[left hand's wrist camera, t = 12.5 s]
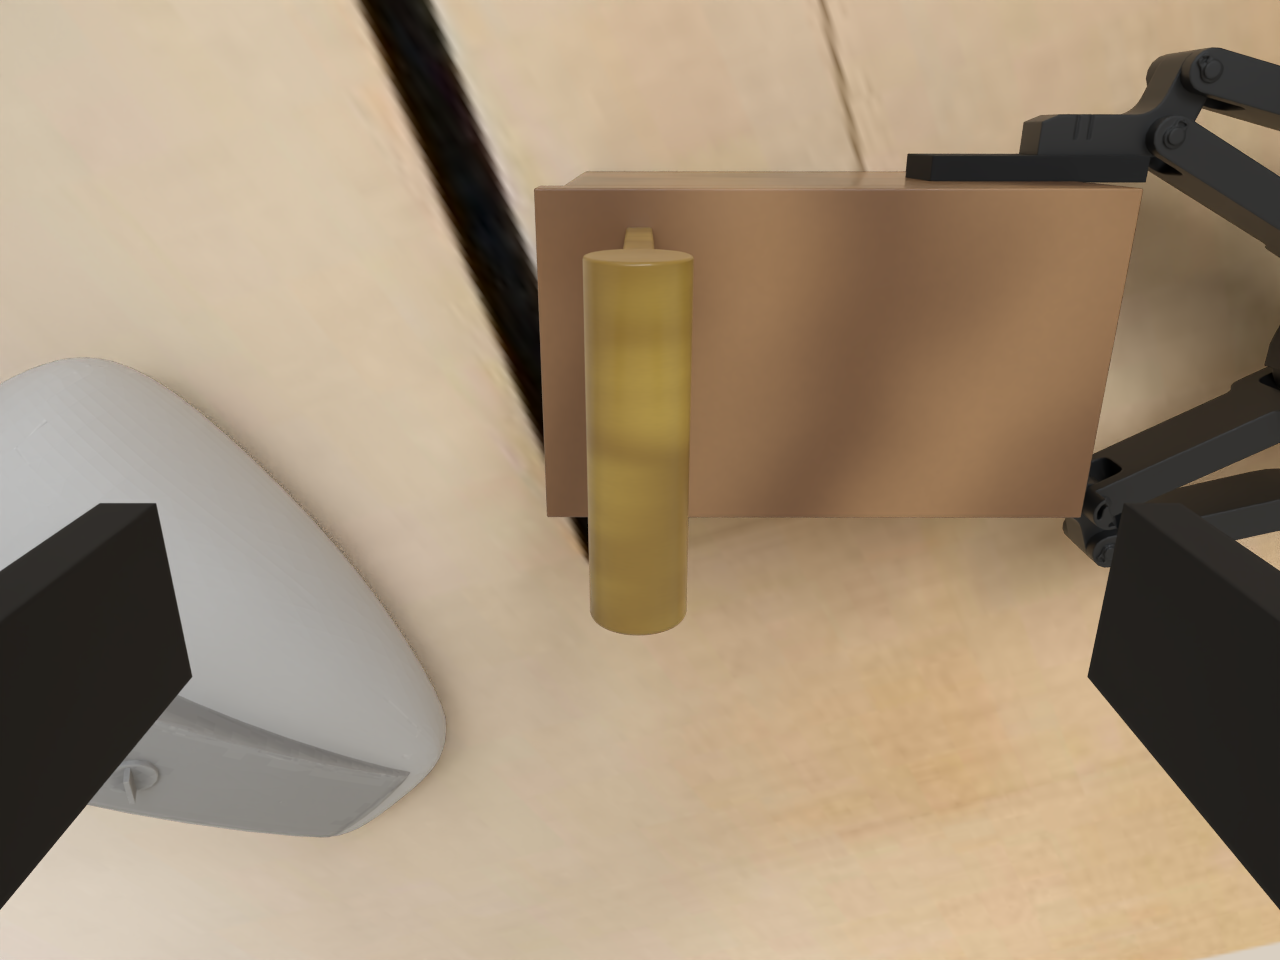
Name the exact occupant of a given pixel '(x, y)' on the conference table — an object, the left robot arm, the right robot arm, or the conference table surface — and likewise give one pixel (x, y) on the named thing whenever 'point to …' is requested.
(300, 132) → the conference table surface
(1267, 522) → the right robot arm
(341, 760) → the projector
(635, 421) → the lid
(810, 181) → the chest
